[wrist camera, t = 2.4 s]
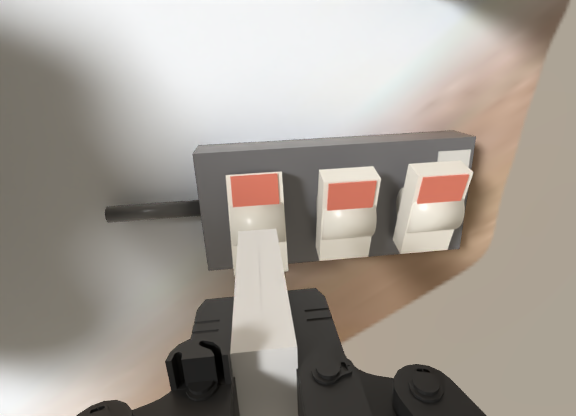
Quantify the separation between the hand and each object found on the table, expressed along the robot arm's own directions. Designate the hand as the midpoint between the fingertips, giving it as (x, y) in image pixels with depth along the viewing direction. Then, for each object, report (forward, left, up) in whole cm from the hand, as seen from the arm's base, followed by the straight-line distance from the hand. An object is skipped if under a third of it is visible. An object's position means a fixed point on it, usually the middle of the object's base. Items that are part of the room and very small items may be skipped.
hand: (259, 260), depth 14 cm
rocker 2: (+6, -2, -11) cm, 13 cm away
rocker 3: (+12, -2, -11) cm, 16 cm away
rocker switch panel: (+2, -2, -14) cm, 15 cm away
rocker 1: (0, -3, -11) cm, 11 cm away
